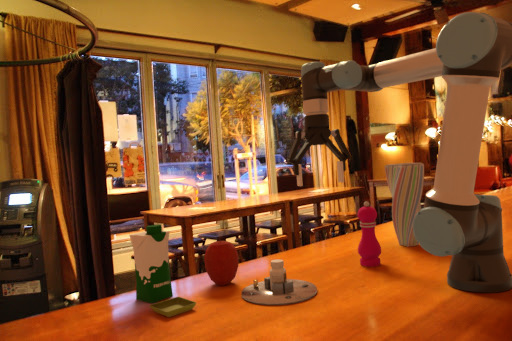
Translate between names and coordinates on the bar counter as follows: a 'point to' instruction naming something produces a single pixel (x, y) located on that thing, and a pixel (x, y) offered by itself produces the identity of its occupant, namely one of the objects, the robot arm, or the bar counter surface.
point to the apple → (221, 262)
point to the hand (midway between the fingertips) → (320, 184)
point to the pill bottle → (277, 272)
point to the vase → (405, 198)
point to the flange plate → (279, 299)
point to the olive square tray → (173, 306)
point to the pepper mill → (368, 237)
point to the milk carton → (152, 264)
